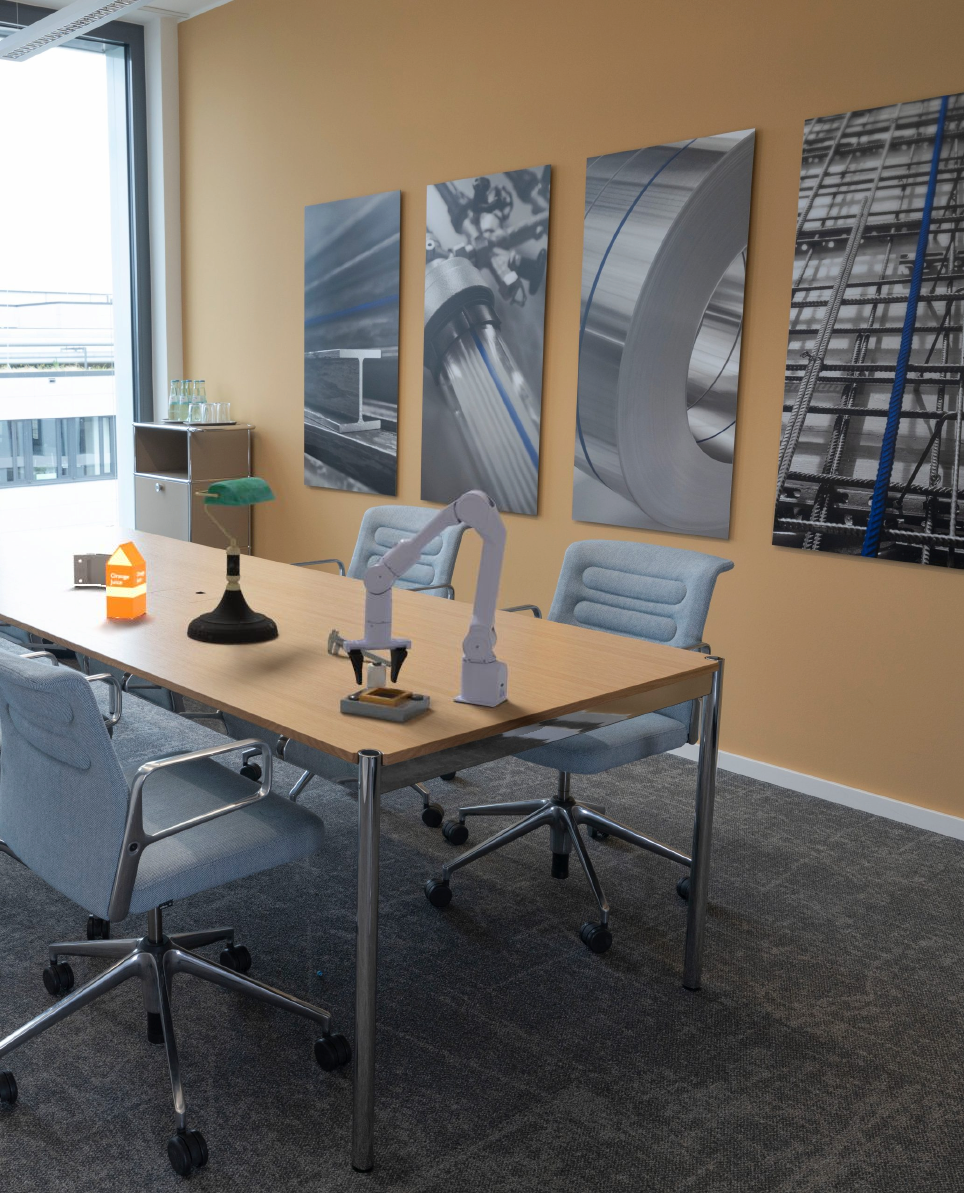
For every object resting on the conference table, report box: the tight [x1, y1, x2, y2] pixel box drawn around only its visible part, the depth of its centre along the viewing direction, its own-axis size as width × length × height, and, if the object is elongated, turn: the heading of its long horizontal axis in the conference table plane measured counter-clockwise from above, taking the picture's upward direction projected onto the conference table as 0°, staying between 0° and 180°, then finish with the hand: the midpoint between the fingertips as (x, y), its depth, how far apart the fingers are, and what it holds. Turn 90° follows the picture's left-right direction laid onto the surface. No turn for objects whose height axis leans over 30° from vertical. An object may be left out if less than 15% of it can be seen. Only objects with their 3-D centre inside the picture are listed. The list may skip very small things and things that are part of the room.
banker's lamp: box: [186, 476, 279, 644], centre depth 279 cm, size 26×23×40 cm
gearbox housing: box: [339, 686, 431, 724], centre depth 220 cm, size 14×12×4 cm
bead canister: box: [366, 660, 387, 688], centre depth 233 cm, size 4×4×7 cm
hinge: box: [73, 552, 113, 585], centre depth 339 cm, size 14×5×10 cm, turn 94°
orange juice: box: [105, 541, 147, 619], centre depth 297 cm, size 8×9×20 cm
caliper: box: [327, 629, 391, 667], centre depth 261 cm, size 20×1×6 cm, turn 57°
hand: (376, 682), depth 233 cm, fingers open, 7 cm apart
